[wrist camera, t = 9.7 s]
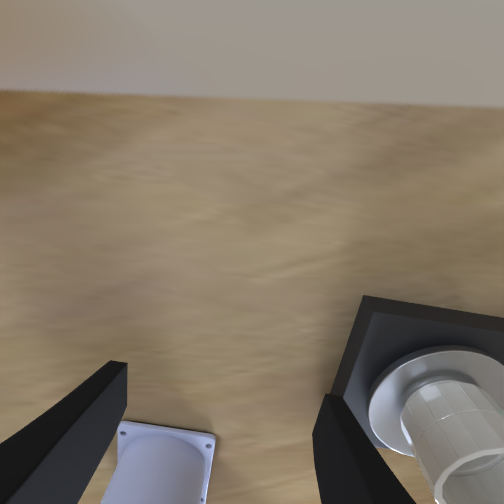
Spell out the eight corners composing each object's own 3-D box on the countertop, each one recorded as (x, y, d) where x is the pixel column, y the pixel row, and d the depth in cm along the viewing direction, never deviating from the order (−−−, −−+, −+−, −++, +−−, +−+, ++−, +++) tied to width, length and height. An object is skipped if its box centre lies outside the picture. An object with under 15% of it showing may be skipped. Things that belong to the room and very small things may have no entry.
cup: (465, 444, 20) (519, 527, 16) (385, 432, 20) (418, 512, 15) (502, 382, 18) (576, 458, 14) (414, 368, 18) (461, 440, 14)
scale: (482, 440, 24) (506, 473, 21) (322, 415, 23) (328, 446, 21) (554, 325, 20) (593, 350, 17) (363, 294, 20) (376, 316, 17)
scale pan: (474, 458, 21) (480, 467, 20) (349, 439, 21) (351, 447, 20) (538, 357, 18) (547, 364, 17) (391, 333, 18) (395, 340, 17)
